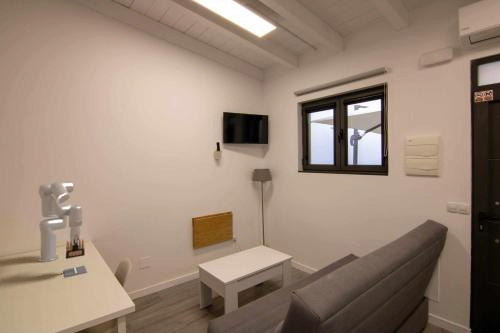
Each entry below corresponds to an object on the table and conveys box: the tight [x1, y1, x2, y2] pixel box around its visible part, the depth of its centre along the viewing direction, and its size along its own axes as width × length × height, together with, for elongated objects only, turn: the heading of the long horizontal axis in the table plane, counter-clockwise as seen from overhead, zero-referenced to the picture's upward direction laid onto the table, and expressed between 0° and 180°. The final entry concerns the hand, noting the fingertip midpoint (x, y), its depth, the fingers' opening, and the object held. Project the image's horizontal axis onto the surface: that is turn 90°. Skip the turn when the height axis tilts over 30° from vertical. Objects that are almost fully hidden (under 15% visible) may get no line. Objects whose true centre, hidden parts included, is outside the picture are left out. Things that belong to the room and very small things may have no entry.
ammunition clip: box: [65, 238, 86, 260], centre depth 174 cm, size 11×2×12 cm, turn 130°
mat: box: [63, 265, 88, 278], centre depth 174 cm, size 14×12×1 cm
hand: (75, 250), depth 174 cm, fingers closed on ammunition clip, 1 cm apart
